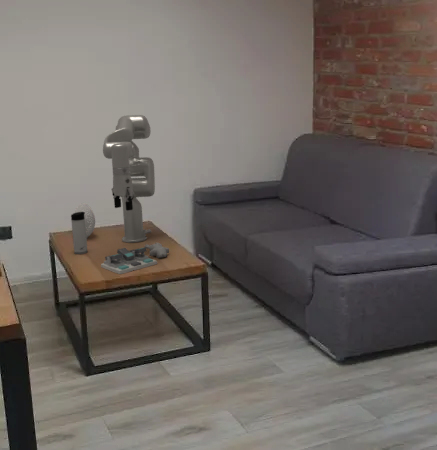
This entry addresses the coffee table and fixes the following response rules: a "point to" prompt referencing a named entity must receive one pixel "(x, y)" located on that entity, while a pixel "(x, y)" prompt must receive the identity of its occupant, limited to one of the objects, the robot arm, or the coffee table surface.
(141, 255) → the switch unit
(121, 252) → the rocker middle
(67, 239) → the coffee table surface
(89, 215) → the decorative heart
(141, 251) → the rocker nearest
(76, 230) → the travel mug
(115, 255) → the rocker
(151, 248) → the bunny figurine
